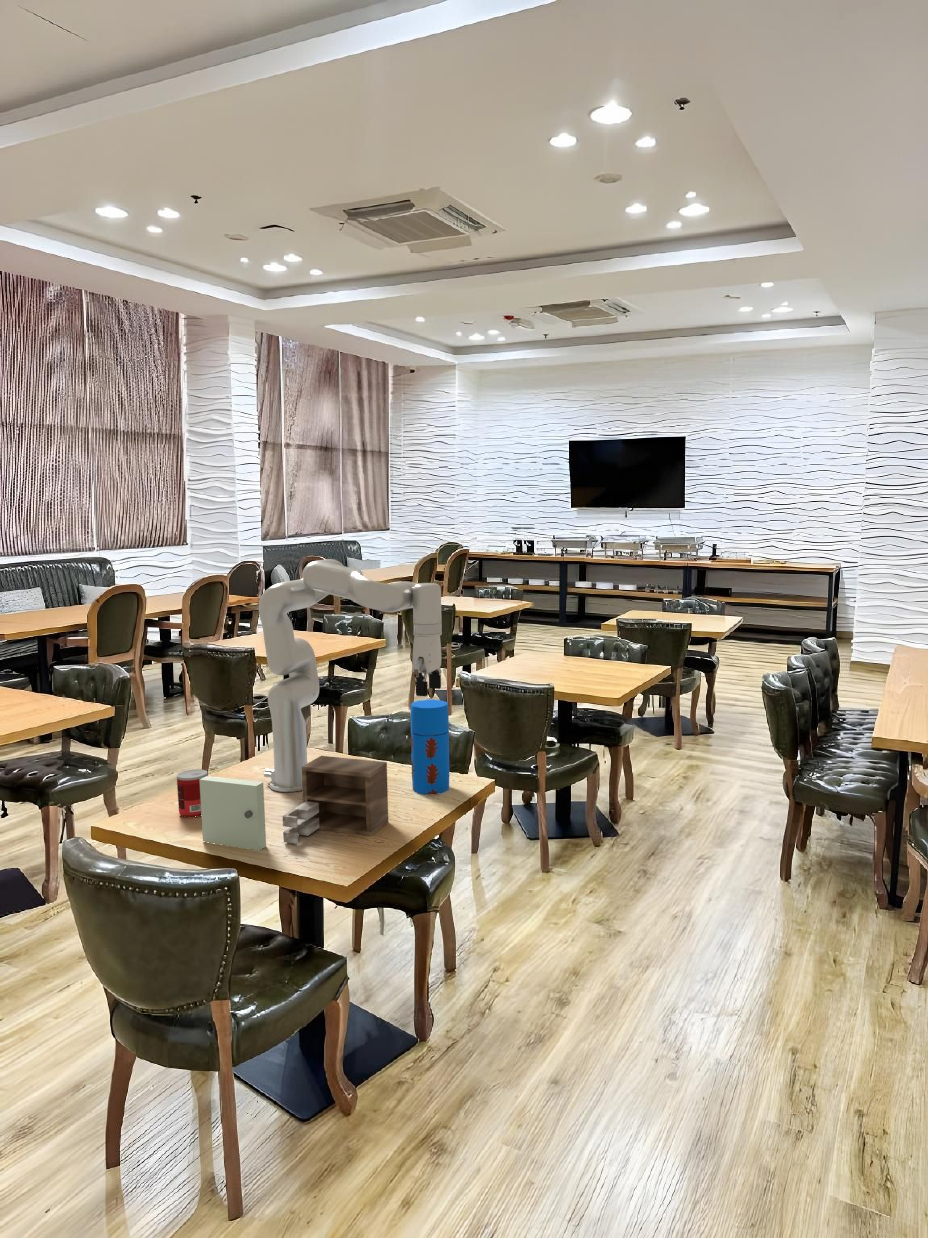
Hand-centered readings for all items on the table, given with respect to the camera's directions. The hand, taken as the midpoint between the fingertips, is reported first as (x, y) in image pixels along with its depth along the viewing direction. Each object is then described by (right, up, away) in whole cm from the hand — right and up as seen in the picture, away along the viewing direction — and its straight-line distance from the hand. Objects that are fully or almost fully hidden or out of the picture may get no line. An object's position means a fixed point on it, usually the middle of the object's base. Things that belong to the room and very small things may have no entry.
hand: (428, 692), depth 234 cm
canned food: (-63, -33, -2) cm, 71 cm away
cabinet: (-23, -34, -17) cm, 44 cm away
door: (-46, -35, -23) cm, 63 cm away
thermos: (0, -29, +16) cm, 33 cm away
